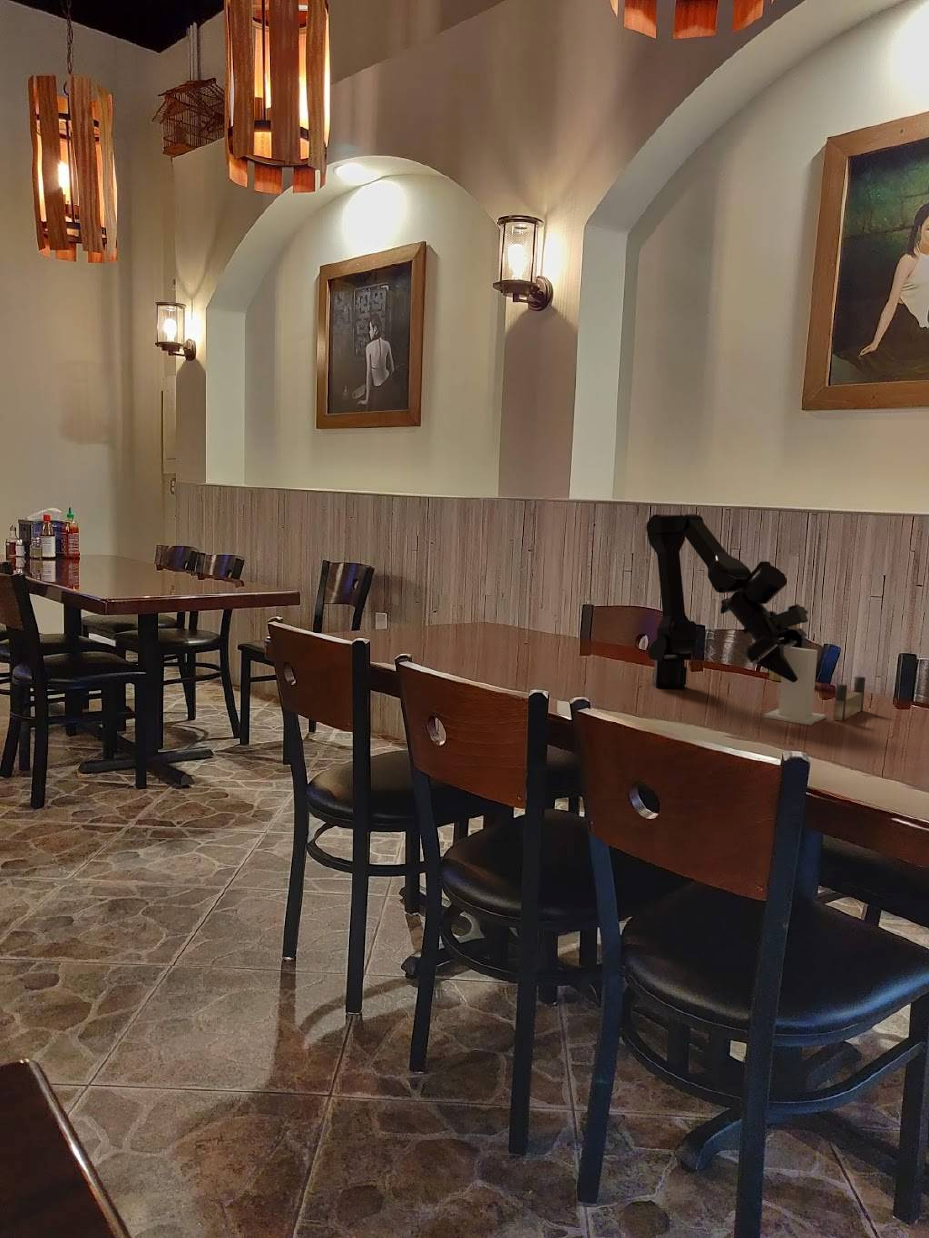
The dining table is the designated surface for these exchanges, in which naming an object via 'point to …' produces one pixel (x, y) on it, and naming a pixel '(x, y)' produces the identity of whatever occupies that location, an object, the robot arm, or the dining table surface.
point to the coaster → (808, 720)
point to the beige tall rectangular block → (798, 683)
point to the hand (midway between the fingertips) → (804, 678)
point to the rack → (849, 699)
